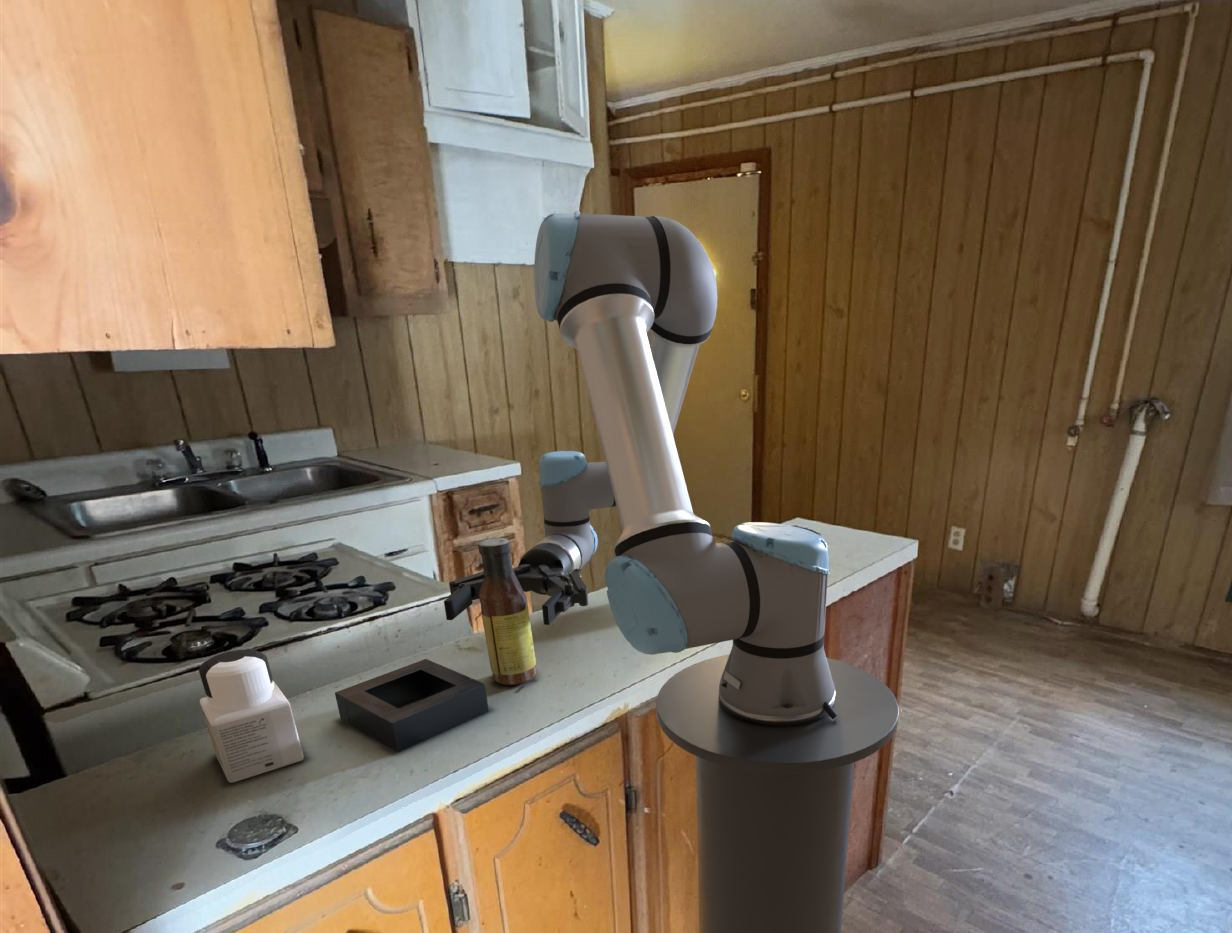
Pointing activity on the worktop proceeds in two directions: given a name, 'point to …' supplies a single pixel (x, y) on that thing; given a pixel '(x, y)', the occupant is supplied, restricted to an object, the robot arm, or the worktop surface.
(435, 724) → the black square socket
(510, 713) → the worktop surface
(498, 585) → the sauce bottle
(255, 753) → the container
